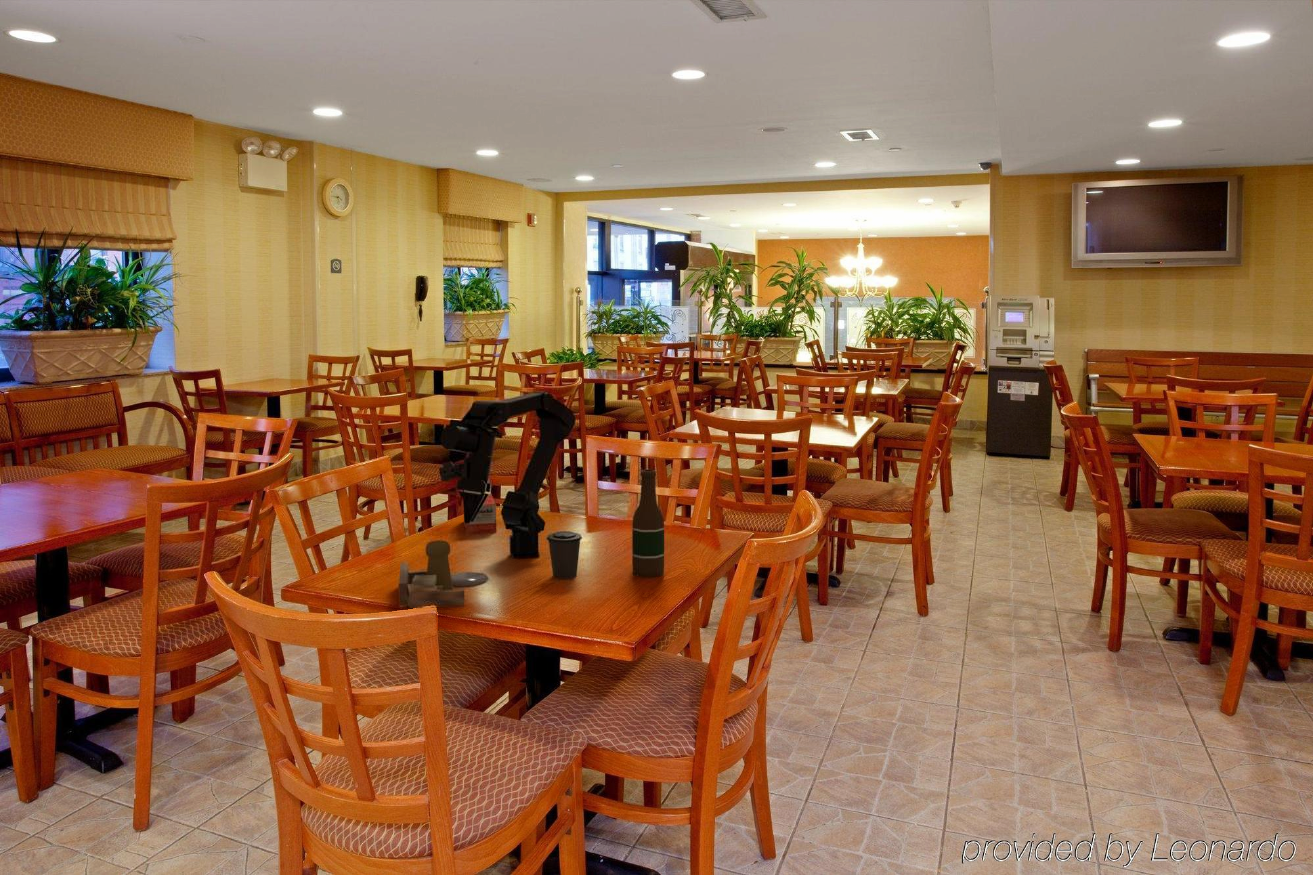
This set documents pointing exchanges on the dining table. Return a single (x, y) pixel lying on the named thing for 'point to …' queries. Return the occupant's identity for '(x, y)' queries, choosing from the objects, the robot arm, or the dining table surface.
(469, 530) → the medicine box
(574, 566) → the coffee cup
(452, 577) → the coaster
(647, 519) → the beer bottle
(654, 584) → the dining table surface
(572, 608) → the dining table surface
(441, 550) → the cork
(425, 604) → the rack
